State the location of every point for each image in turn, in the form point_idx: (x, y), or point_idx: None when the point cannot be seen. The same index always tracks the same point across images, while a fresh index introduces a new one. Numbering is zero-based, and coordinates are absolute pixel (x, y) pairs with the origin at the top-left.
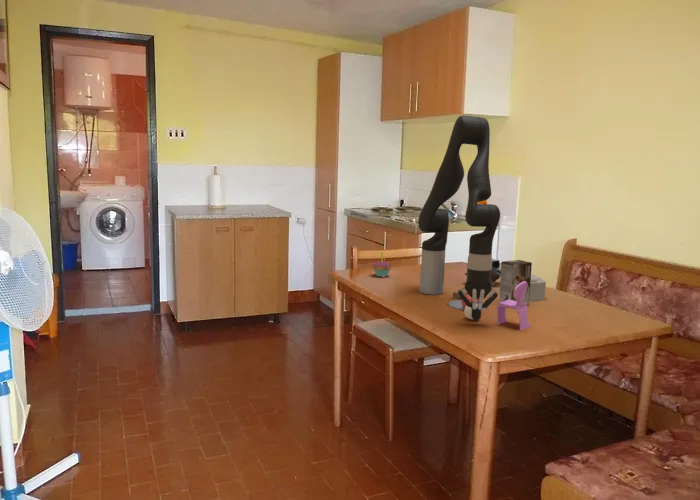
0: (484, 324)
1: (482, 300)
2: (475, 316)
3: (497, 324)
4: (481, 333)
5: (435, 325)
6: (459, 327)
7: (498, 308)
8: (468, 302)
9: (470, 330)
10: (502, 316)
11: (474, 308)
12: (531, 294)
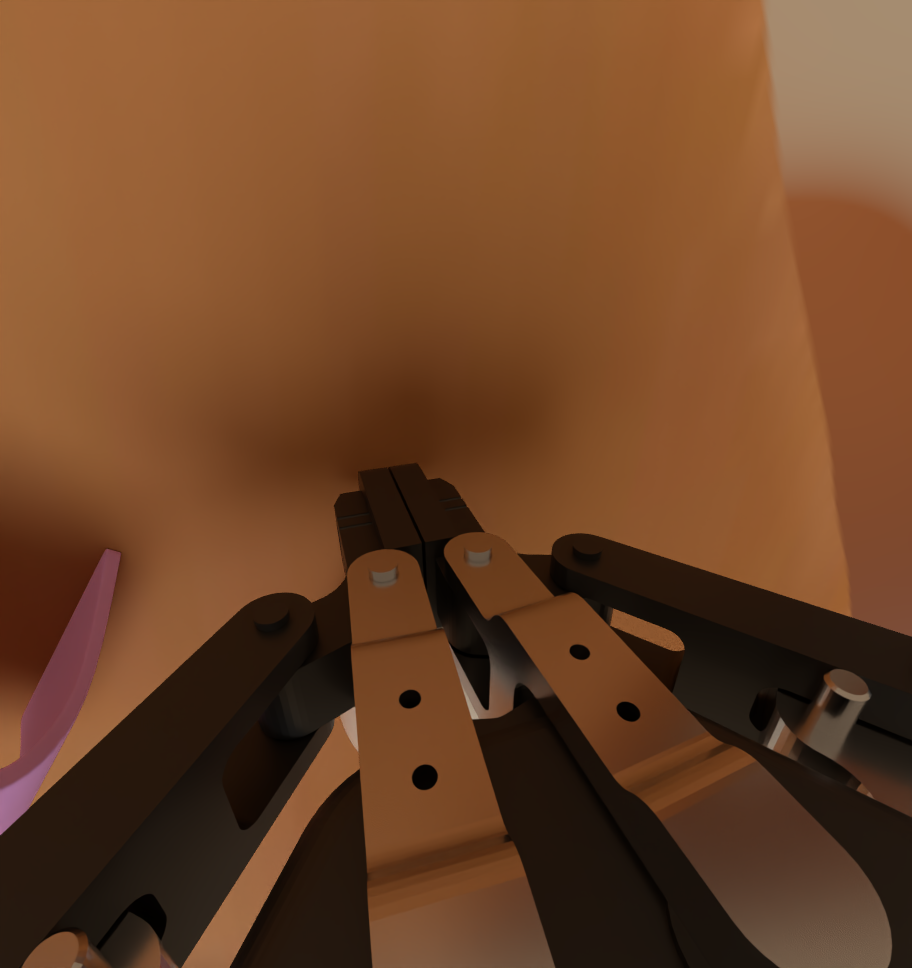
0: (276, 506)
1: (370, 679)
2: (411, 486)
3: (109, 551)
4: (285, 55)
5: (773, 301)
6: (562, 298)
7: (35, 750)
8: (626, 580)
9: (445, 195)
10: (45, 715)
11: (471, 542)
12: None
